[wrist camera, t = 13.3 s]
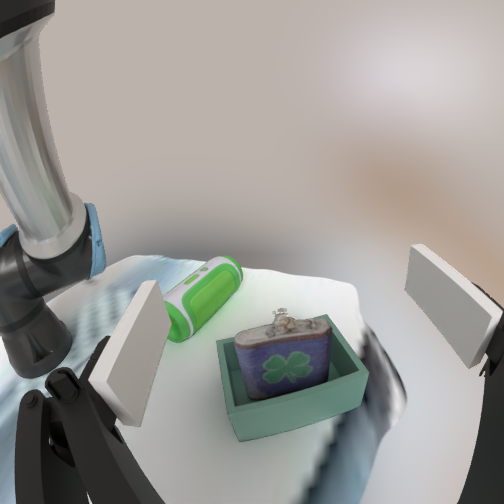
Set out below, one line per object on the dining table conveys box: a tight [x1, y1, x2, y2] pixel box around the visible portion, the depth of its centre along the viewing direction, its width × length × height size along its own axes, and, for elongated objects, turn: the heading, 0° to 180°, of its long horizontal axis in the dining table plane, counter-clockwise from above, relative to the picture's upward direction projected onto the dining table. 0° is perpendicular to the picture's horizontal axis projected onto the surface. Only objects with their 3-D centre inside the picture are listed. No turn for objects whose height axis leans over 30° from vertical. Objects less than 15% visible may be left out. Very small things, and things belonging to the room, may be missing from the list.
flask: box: [234, 308, 333, 401], centre depth 25 cm, size 9×3×11 cm, turn 94°
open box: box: [216, 314, 369, 442], centre depth 27 cm, size 10×13×6 cm
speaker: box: [162, 256, 243, 342], centre depth 44 cm, size 18×7×8 cm, turn 153°
